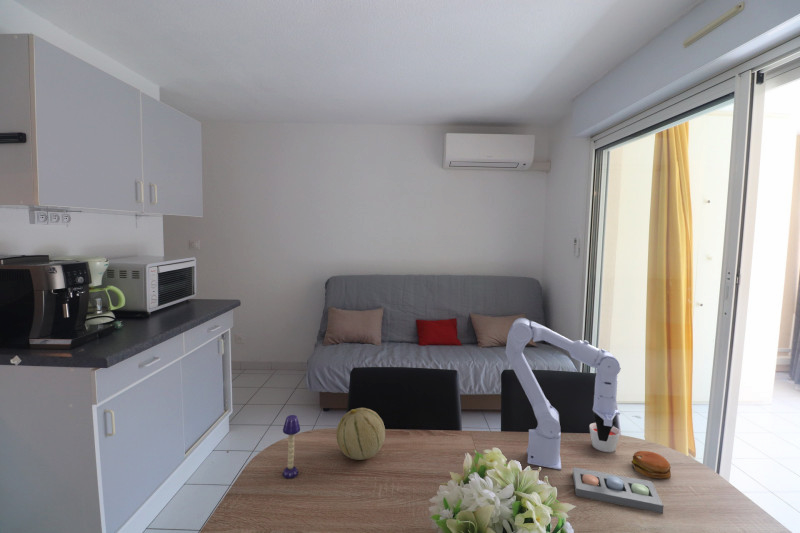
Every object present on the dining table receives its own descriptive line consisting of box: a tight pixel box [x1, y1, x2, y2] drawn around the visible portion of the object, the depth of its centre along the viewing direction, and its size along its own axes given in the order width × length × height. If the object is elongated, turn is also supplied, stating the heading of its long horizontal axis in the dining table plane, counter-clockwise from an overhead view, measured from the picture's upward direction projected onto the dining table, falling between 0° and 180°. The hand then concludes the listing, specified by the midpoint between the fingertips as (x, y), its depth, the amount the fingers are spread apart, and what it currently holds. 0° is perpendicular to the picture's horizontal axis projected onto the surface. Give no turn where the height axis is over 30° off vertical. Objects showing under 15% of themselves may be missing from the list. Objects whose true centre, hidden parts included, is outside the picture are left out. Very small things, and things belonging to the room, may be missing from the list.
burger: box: [631, 450, 672, 480], centre depth 122 cm, size 10×9×5 cm
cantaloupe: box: [335, 407, 386, 461], centre depth 125 cm, size 15×15×15 cm
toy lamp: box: [282, 414, 301, 479], centre depth 114 cm, size 5×5×17 cm
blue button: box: [606, 476, 624, 491], centre depth 110 cm, size 4×4×2 cm
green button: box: [631, 483, 649, 496], centre depth 108 cm, size 4×4×2 cm
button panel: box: [572, 466, 664, 514], centre depth 110 cm, size 20×11×2 cm, turn 72°
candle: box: [589, 422, 621, 453], centre depth 135 cm, size 9×9×6 cm
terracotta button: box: [581, 474, 599, 486], centre depth 112 cm, size 4×4×2 cm
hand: (602, 440), depth 120 cm, fingers closed
